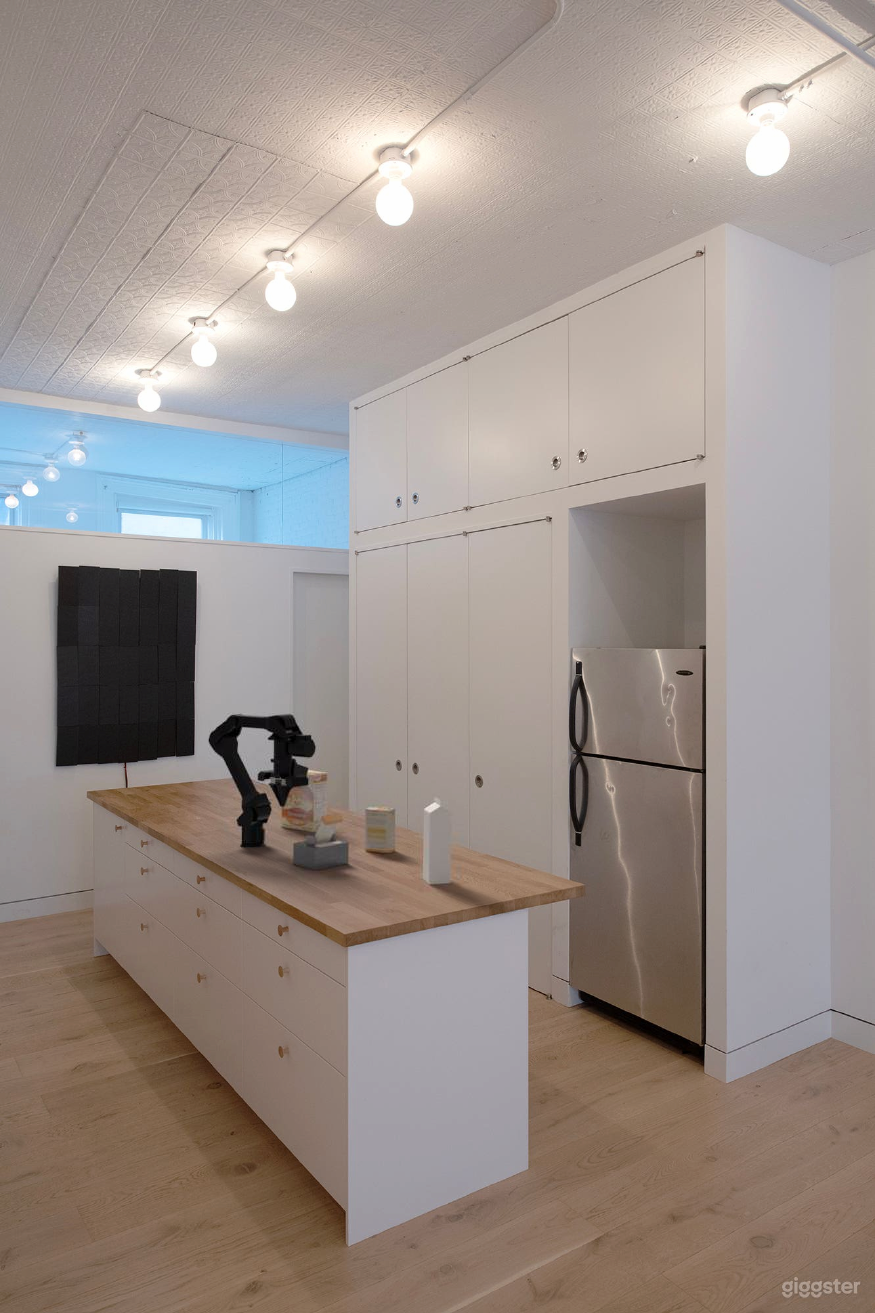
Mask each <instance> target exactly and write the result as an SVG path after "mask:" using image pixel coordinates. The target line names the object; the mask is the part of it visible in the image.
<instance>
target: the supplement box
mask: <svg viewBox="0 0 875 1313" xmlns="http://www.w3.org/2000/svg"><path fill="white" fill-rule="evenodd" d="M364 810H365V811H364V813H365V817H364V818H365V819H364V820H365V828H364V830H365V833H364V834H365V835H364V837H365V839H364V841H365V846H364V848H365V849H364V851H365V852H371V853H379V854H381V853H382V854H391V853H393V852H395V851H396V808H393V807H385V806H383V807H382V806H370V807H367V808H365V809H364Z"/></svg>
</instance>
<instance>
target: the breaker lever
mask: <svg viewBox="0 0 875 1313" xmlns="http://www.w3.org/2000/svg"><path fill="white" fill-rule="evenodd" d="M343 820H344V817H343V816H342V814H340V812H338V813H337V812H336V813H331V814H327V815H323V816H322V817H321V821H322V822H321V824H320V826H319V828H318V830H317V831H316V832H315V834H314V835H313V837H315V843H320V842H326V841H330V839H331V837H332V835H333V833H335V832H336V829H337V827H338V826H339V824H341V823H342V822H343Z"/></svg>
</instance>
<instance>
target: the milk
mask: <svg viewBox="0 0 875 1313" xmlns="http://www.w3.org/2000/svg"><path fill="white" fill-rule="evenodd" d="M422 842H423V844H422V845H423V848H422V849H423V850H422V851H423V852H422V853H423V856H422V858H423V861H422V862H423V863H422V864H423V865H422V880H424V881H425V882H426V883H427V885H433V886H434V885H443V884H446V885H447V884H451V882H452V881H451V880H452V879H451V874H452V873H451V871H452V868H451V867H452V863H451V862H452V811H451V810H449V809H447V808H445V807H444V806H442V800H441V799H439V798H437V797H436V796H435V797H434V802H433V803H431V804H430V805H428V806H426V807H425V808H423V841H422Z"/></svg>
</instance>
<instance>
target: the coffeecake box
mask: <svg viewBox="0 0 875 1313" xmlns="http://www.w3.org/2000/svg"><path fill="white" fill-rule="evenodd" d="M307 777H308V779H309V785H306V786H298V787H293V788H292V789H291V790H290V793H289V795H288V798H287V801H286V804H285V806H284V807H281V826H280V827H282V828H287V829H293V830H300V831H304V830H305V831H304V832H310V833H316V832H317V830H318V828H319V826H320V824H321V822H322V821H321V817H322V816H323V815H328V814H327V812H328V810H327V809H328V807H327V805H328V804H327V803H328V796H327V795H328V772H327V771H325V772H323V771H317V770H311V769H310V770H309V769H308V772H307Z"/></svg>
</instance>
